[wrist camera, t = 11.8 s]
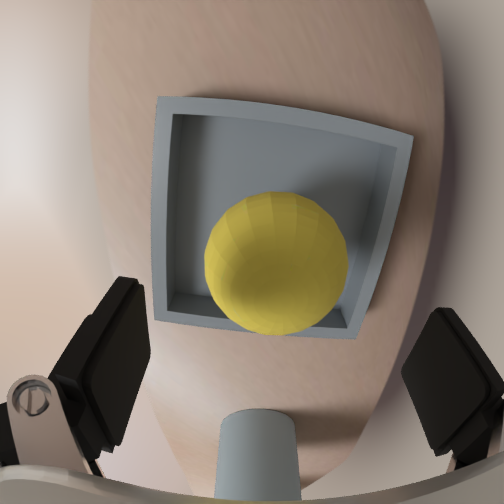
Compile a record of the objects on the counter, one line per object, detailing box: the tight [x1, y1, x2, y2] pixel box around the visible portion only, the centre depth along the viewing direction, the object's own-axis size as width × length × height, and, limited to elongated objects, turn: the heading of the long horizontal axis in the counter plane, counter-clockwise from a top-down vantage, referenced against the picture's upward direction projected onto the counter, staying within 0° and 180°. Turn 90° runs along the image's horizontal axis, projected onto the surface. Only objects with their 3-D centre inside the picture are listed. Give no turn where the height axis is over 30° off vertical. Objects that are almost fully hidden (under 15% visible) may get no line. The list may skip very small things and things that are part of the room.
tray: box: [151, 96, 414, 339], centre depth 20 cm, size 15×15×4 cm
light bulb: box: [204, 191, 349, 335], centre depth 16 cm, size 7×7×10 cm
